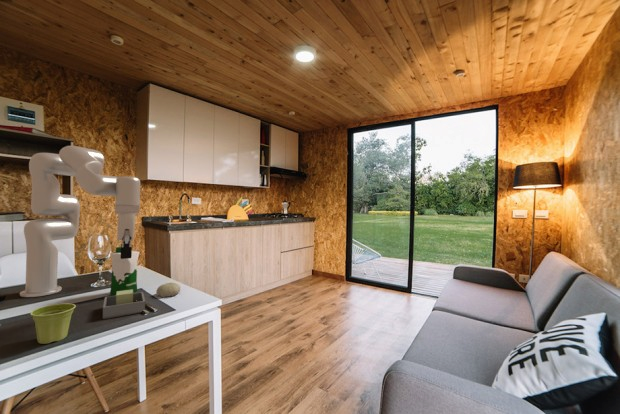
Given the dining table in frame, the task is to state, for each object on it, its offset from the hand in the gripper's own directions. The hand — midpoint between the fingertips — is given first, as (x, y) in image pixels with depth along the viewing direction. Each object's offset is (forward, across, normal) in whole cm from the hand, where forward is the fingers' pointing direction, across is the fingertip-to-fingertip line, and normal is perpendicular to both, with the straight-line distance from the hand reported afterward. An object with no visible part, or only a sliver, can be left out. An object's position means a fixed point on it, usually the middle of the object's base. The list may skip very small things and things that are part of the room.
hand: (125, 256), depth 99 cm
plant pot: (+20, +15, -17) cm, 30 cm away
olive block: (+20, 0, 0) cm, 20 cm away
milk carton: (+20, -22, 0) cm, 30 cm away
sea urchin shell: (+20, -11, +16) cm, 28 cm away
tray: (+20, 0, 0) cm, 20 cm away
